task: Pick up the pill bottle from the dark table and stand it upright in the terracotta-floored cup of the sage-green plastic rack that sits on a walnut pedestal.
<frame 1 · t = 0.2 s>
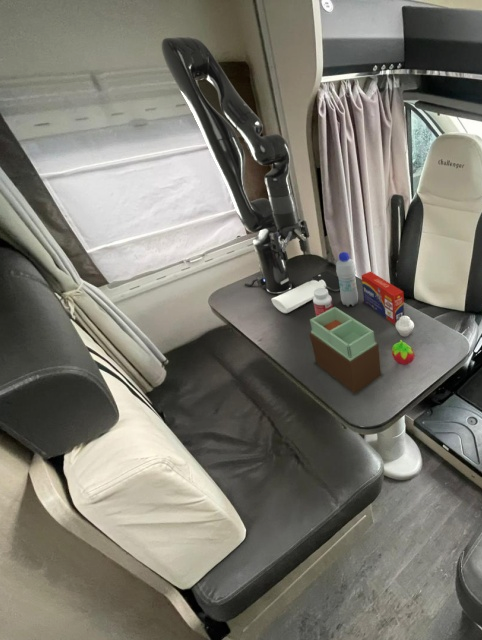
hand: (294, 256, 125), 17 cm above the table, tool pointing down, fingers open, 8 cm apart
rack: (343, 338, 100), on the table
smartphone: (330, 282, 145), on the table
muffin: (404, 334, 121), on the table
squeeze bottle: (303, 300, 136), on the table
pill bottle: (326, 318, 128), on the table
bottle: (350, 303, 135), on the table
red cardboard box: (383, 311, 131), on the table
strawberry: (403, 365, 110), on the table
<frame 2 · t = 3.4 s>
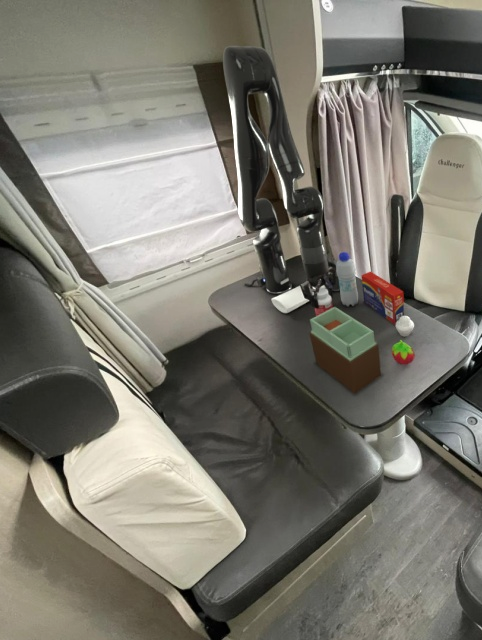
hand: (323, 302, 123), 7 cm above the table, tool pointing down, fingers closed on pill bottle, 6 cm apart
pill bottle: (326, 318, 128), on the table, touching gripper
everything else where it was.
when the fingers open (19 cm above the table, at t = 10.6 s): pill bottle stays where it is, resting on rack.
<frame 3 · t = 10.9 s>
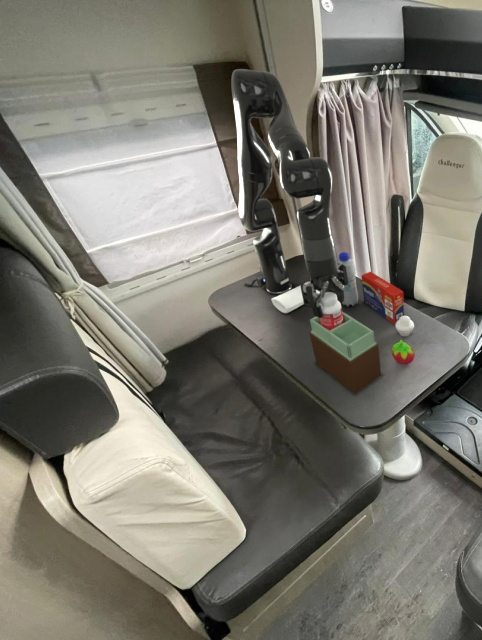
hand: (330, 308, 97), 20 cm above the table, tool pointing down, fingers open, 8 cm apart
pill bottle: (333, 330, 102), point 13 cm above the table, touching rack
everything else where it was.
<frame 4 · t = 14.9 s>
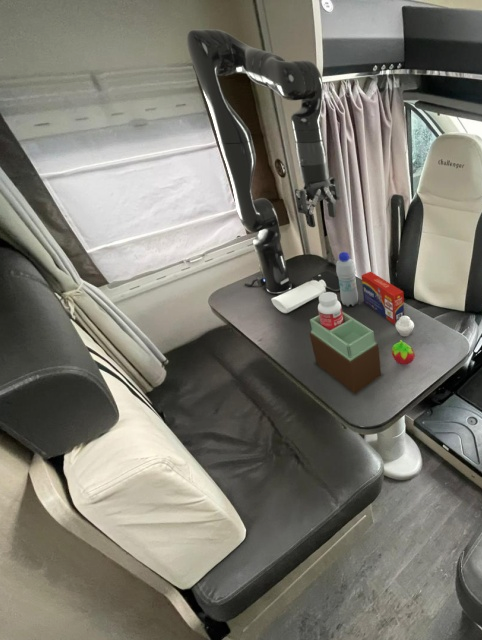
hand: (322, 221, 105), 34 cm above the table, tool pointing down, fingers open, 8 cm apart
nothing on the table moved.
at the end: pill bottle 0.1 cm from the target spot on the rack, point 0.6 cm above the rack's base; pill bottle tilted 0° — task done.
